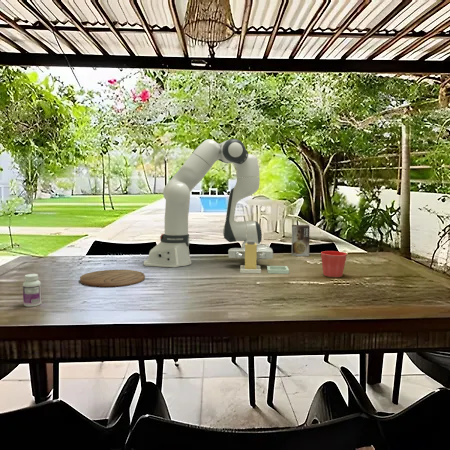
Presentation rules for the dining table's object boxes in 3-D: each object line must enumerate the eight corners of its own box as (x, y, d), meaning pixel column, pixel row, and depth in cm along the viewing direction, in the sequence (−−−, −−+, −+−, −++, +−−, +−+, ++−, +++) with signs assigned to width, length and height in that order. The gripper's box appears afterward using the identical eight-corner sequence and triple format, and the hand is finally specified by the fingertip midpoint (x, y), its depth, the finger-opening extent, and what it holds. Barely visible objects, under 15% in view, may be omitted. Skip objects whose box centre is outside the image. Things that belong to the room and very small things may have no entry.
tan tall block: (244, 271, 193) (245, 242, 191) (244, 269, 198) (245, 240, 196) (256, 272, 192) (256, 242, 191) (256, 269, 197) (256, 240, 196)
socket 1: (240, 272, 191) (240, 269, 190) (240, 268, 200) (240, 265, 200) (261, 273, 190) (261, 269, 190) (260, 268, 199) (260, 265, 199)
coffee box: (308, 254, 239) (309, 224, 238) (309, 256, 233) (310, 226, 231) (291, 253, 240) (291, 224, 238) (291, 255, 234) (292, 225, 232)
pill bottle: (27, 302, 143) (25, 273, 142) (43, 302, 144) (42, 273, 143) (20, 307, 138) (19, 276, 137) (38, 306, 138) (37, 276, 137)
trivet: (66, 284, 168) (65, 280, 168) (105, 272, 192) (105, 267, 191) (122, 291, 160) (122, 285, 160) (156, 276, 183) (156, 272, 183)
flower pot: (347, 274, 190) (348, 251, 189) (343, 279, 180) (344, 255, 179) (323, 271, 195) (324, 250, 194) (317, 276, 185) (318, 253, 184)
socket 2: (267, 273, 190) (268, 269, 190) (267, 269, 199) (267, 265, 199) (288, 273, 190) (289, 270, 190) (287, 269, 199) (287, 266, 199)
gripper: (228, 244, 208) (227, 248, 194) (271, 245, 207) (273, 249, 193) (228, 257, 209) (227, 263, 195) (271, 258, 208) (273, 263, 194)
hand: (250, 256), depth 194 cm, fingers open, 8 cm apart
